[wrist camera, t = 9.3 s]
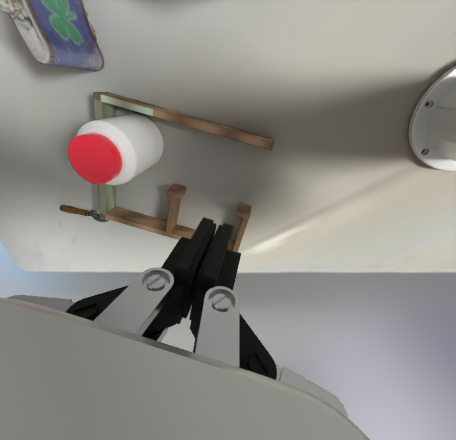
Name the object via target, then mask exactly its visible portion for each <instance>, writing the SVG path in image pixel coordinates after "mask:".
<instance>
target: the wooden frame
mask: <svg viewBox="0 0 456 440" xmlns="http://www.w3.org/2000/svg"><path fill="white" fill-rule="evenodd" d="M93 93H94V113H95V120H99V119H104V118H110V117H115V114H114V105H116V106H119V107H123V108H126V109H130V110H133V111H136V112H140V113H143V114H147V115H150V116H154V117H158V118H161V119H165V120H168V121H172V122H175V123H179V124H182V125H185V126H189V127H192V128H196V129H199V130H203V131H206V132H210V133H213V134H217V135H220V136H224V137H227V138H231V139H234V140H238V141H241V142H245V143H248V144H252V145H255V146H259V147H262V148H265V149H269V150H272V148H273V145H274V140H273V139H269V138H266V137H262V136H259V135H255V134H252V133H249V132H245V131H242V130H238V129H235V128H231V127H228V126H224V125H221V124H217V123H214V122H210V121H207V120H203V119H200V118H196V117H193V116H189V115H186V114H182V113H179V112H175V111H172V110H168V109H165V108H161V107H158V106H154V105H151V104H147V103H144V102H140V101H137V100H133V99H130V98H127V97H123V96H120V95H116V94H113V93H109V92H93ZM185 189H186V187H183V186H180V185H176V184H173V185H172V186H171V187H170V188H169V189H168V190H167V195H166V196H170V202H169V210H168V218H167V221H164V220H160V219H157V218H153V217H150V216H146V215H143V214H140V213H136V212H133V211H129V210H126V209H123V208H119V207H116V206H115V185H109V184H105V183H104V184H98V192H99V211H100V217H103V218H107V219H110V220H113V221H117V222H120V223H124V224H127V225H130V226H134V227H137V228H141V229H144V230H147V231H151V232H154V233H158V234H161V235H164V236H168V237H171V238H175V239H178V240H180V238H181V237H186V238H189V239H191V238H192V236H193V234H194V232H195V231H196V230H194V229H191V228H187V227H184V226H181V225H177V218H178V211H179V205H180V198H181V196H182V195H183V194H184V192H185ZM250 211H251V206H248V205H245V204H241V203H239V206H238V209H237V213H236V216H238V217H242V221H241V224H240V227H239V230H238V233H237V236H236V239H235V241H232V240H230V243H229V247H228V250H231V251H234V252H238V249H239V246H240V243H241V240H242V237H243V234H244V231H245V228H246V225H247V222H248V219H249V216H250ZM214 236H215V235H214Z"/></svg>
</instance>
